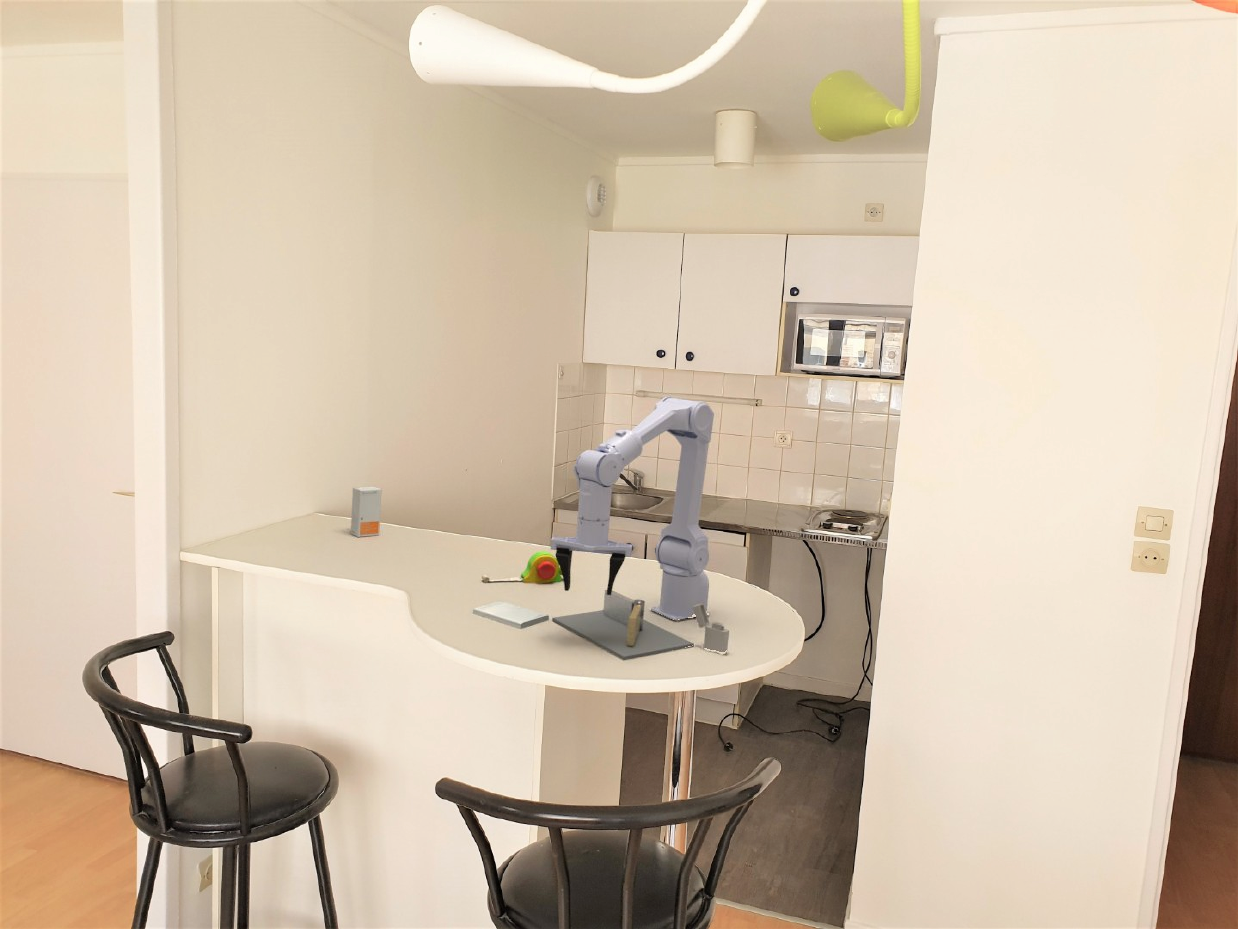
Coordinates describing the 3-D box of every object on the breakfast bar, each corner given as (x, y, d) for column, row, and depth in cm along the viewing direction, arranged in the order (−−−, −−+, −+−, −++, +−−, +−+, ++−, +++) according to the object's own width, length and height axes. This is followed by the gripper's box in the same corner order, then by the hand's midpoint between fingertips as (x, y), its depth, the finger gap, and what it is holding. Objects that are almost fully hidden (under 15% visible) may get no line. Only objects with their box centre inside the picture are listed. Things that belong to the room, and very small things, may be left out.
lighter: (727, 652, 169) (731, 610, 168) (722, 655, 168) (726, 612, 167) (694, 642, 173) (697, 601, 172) (689, 645, 172) (692, 603, 171)
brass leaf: (632, 626, 177) (634, 599, 177) (643, 627, 177) (645, 600, 176) (624, 644, 167) (626, 616, 166) (635, 646, 166) (638, 617, 166)
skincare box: (357, 537, 232) (359, 490, 230) (350, 534, 235) (351, 487, 233) (380, 535, 236) (382, 489, 234) (372, 531, 239) (374, 486, 237)
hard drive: (549, 614, 180) (501, 599, 187) (520, 623, 173) (472, 607, 180) (548, 623, 180) (501, 607, 187) (520, 632, 174) (472, 616, 181)
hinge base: (618, 610, 189) (620, 583, 188) (693, 646, 171) (695, 617, 170) (552, 620, 180) (554, 592, 179) (623, 660, 162) (626, 629, 161)
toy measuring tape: (572, 584, 206) (574, 555, 205) (484, 586, 200) (486, 556, 199) (565, 576, 212) (567, 548, 211) (479, 577, 206) (481, 548, 205)
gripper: (549, 518, 163) (544, 593, 165) (632, 526, 162) (626, 601, 164) (556, 510, 170) (551, 582, 172) (635, 518, 169) (629, 590, 171)
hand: (588, 591), depth 169 cm, fingers open, 7 cm apart
